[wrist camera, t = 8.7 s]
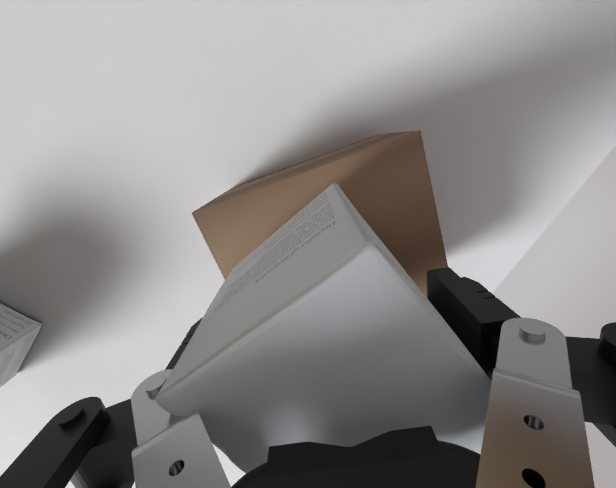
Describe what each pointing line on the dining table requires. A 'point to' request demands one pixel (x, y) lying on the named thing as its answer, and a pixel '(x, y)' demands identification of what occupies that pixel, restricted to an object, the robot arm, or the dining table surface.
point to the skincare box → (324, 347)
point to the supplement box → (14, 341)
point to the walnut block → (358, 189)
